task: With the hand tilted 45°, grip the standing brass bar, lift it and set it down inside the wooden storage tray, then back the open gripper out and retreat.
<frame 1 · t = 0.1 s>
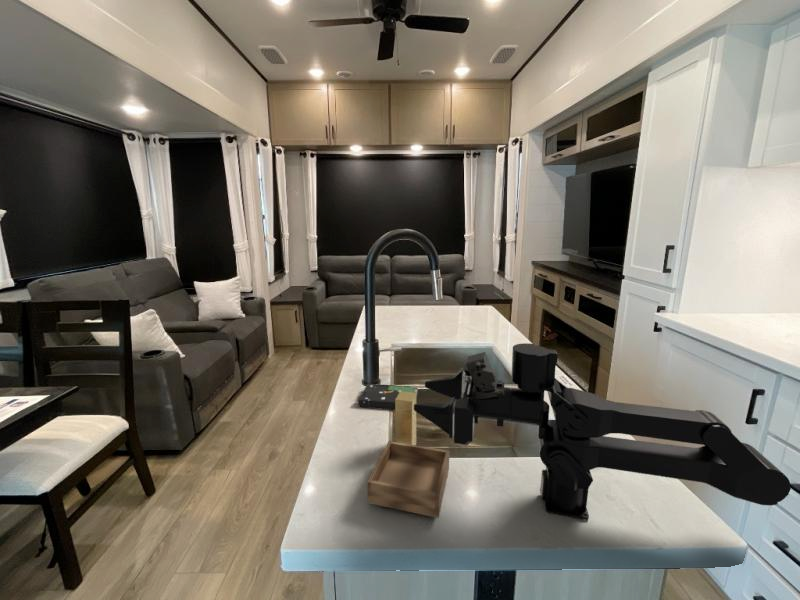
hand: (419, 394, 65), 17 cm above the worktop, tool horizontal, fingers open, 9 cm apart
brass bar: (406, 447, 76), on the worktop
wooden storage tray: (410, 490, 64), on the worktop
disk drive: (389, 402, 98), on the worktop
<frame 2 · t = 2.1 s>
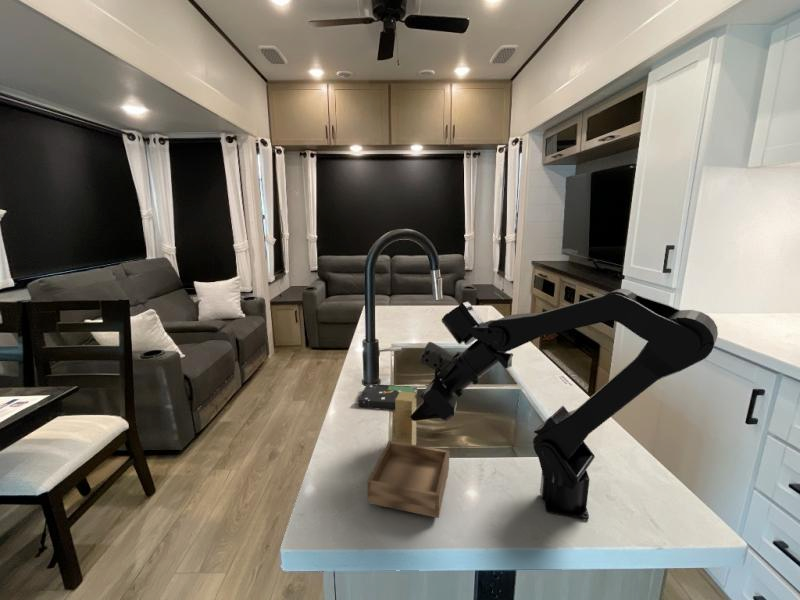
hand: (417, 407, 74), 10 cm above the worktop, tool tilted 45°, fingers open, 9 cm apart
nothing on the worktop moved.
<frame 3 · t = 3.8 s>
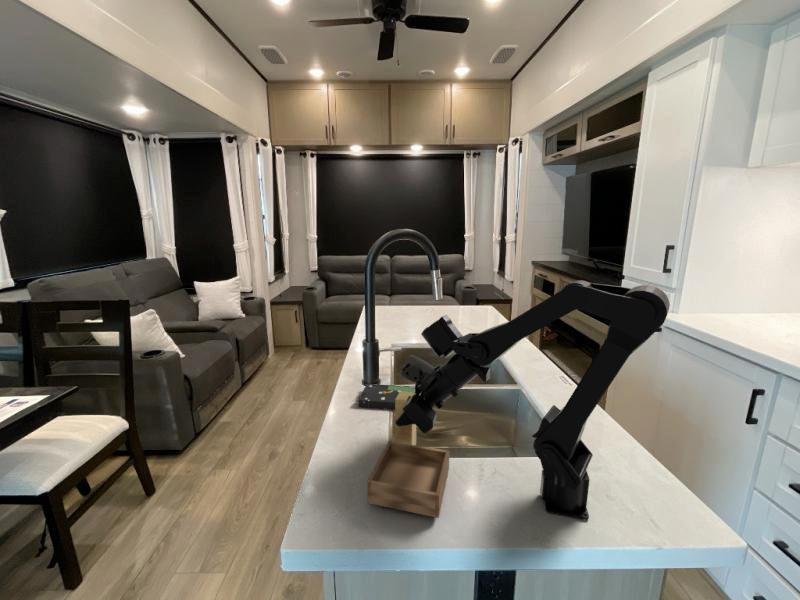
hand: (399, 418, 76), 7 cm above the worktop, tool tilted 45°, fingers closed on brass bar, 4 cm apart
brass bar: (406, 447, 76), on the worktop, touching gripper
everything else where it was.
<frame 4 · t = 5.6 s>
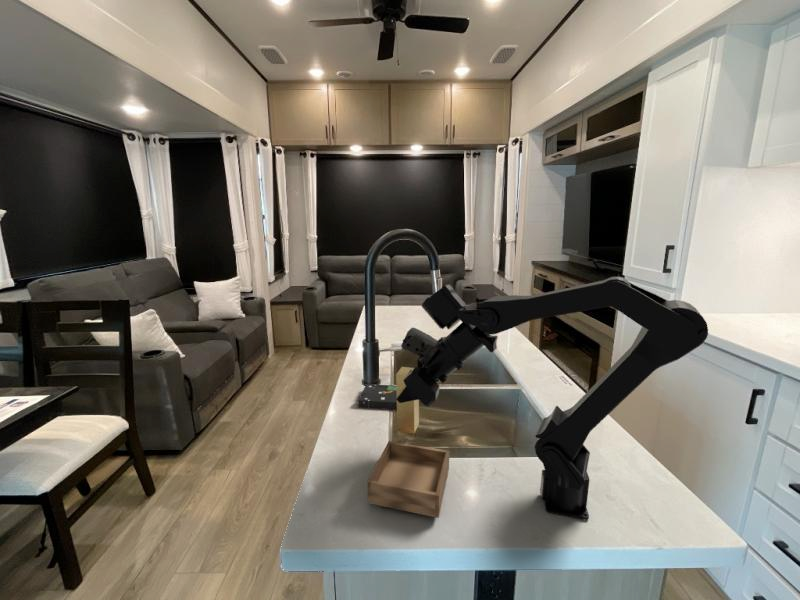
hand: (401, 396, 72), 13 cm above the worktop, tool tilted 45°, fingers closed on brass bar, 4 cm apart
brass bar: (408, 426, 72), point 7 cm above the worktop, touching gripper
everything else where it was.
when the fingers open (10 cm above the worktop, at t = 7.3 s): brass bar drops 1 cm, resting on wooden storage tray.
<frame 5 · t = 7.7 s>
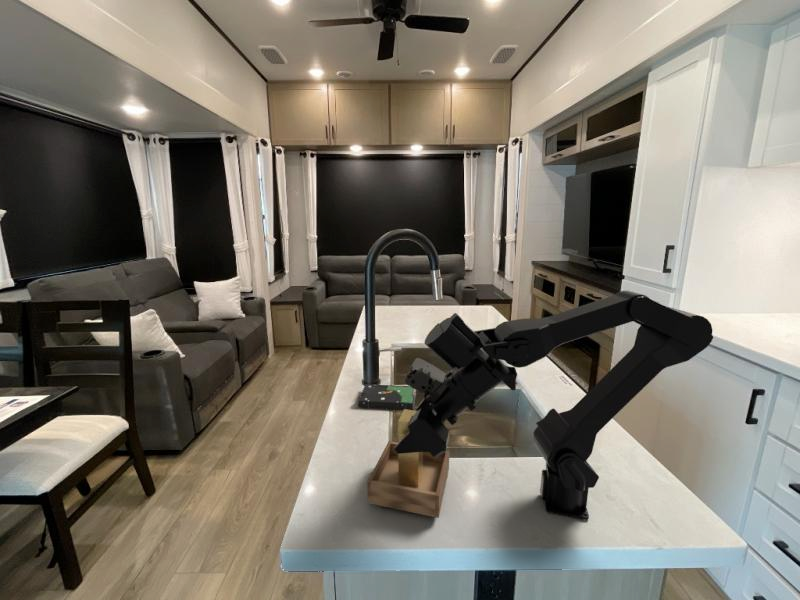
hand: (403, 435, 62), 11 cm above the worktop, tool tilted 45°, fingers open, 9 cm apart
brass bar: (411, 477, 64), point 2 cm above the worktop, touching wooden storage tray
everything else where it was.
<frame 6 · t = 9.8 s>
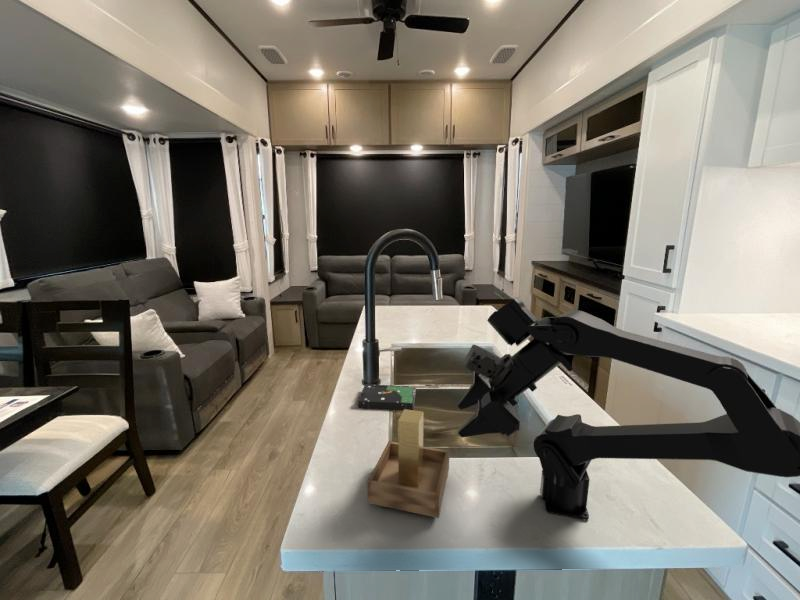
hand: (459, 420, 64), 12 cm above the worktop, tool tilted 45°, fingers open, 9 cm apart
nothing on the worktop moved.
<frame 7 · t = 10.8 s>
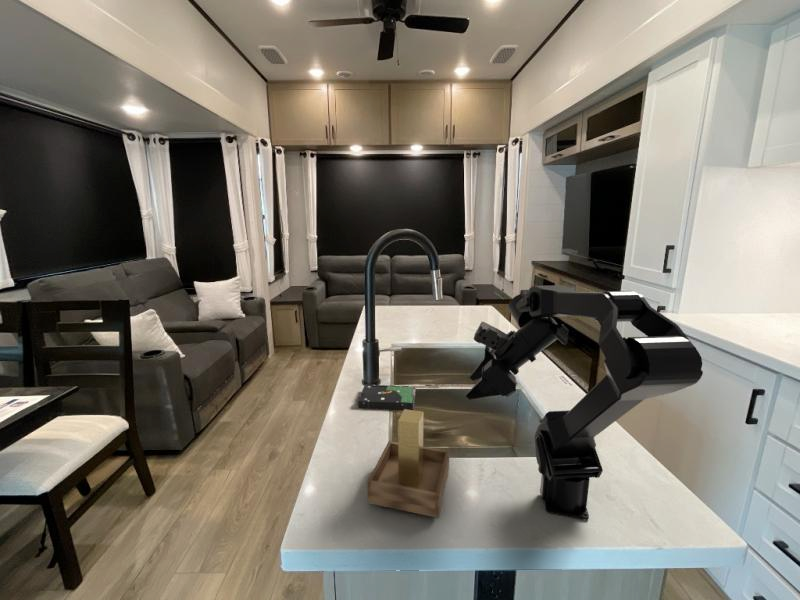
hand: (469, 387, 74), 14 cm above the worktop, tool tilted 45°, fingers open, 9 cm apart
nothing on the worktop moved.
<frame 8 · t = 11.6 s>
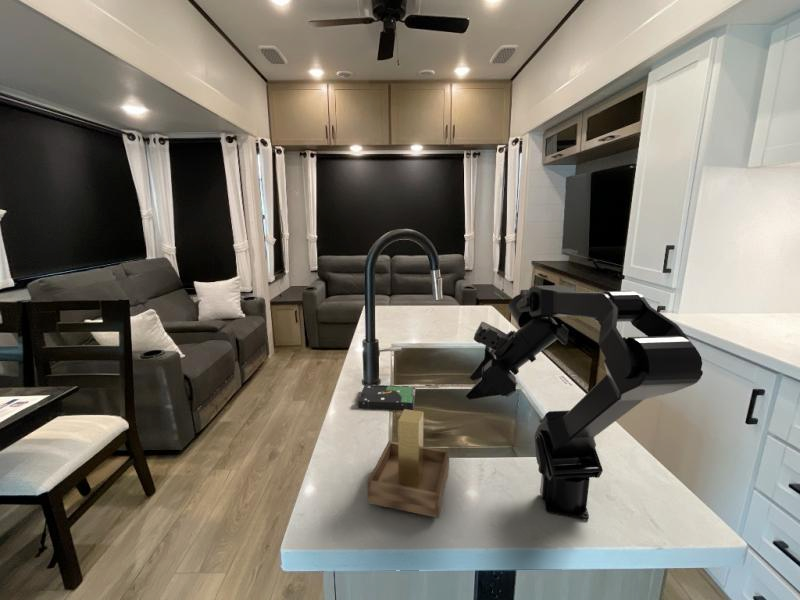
hand: (469, 387, 74), 14 cm above the worktop, tool tilted 45°, fingers open, 9 cm apart
nothing on the worktop moved.
at the end: brass bar inside the target area on the wooden storage tray (0.0 cm from its centre), point 2.5 cm above the wooden storage tray's base; brass bar tilted 0°; the gripper is holding nothing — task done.
